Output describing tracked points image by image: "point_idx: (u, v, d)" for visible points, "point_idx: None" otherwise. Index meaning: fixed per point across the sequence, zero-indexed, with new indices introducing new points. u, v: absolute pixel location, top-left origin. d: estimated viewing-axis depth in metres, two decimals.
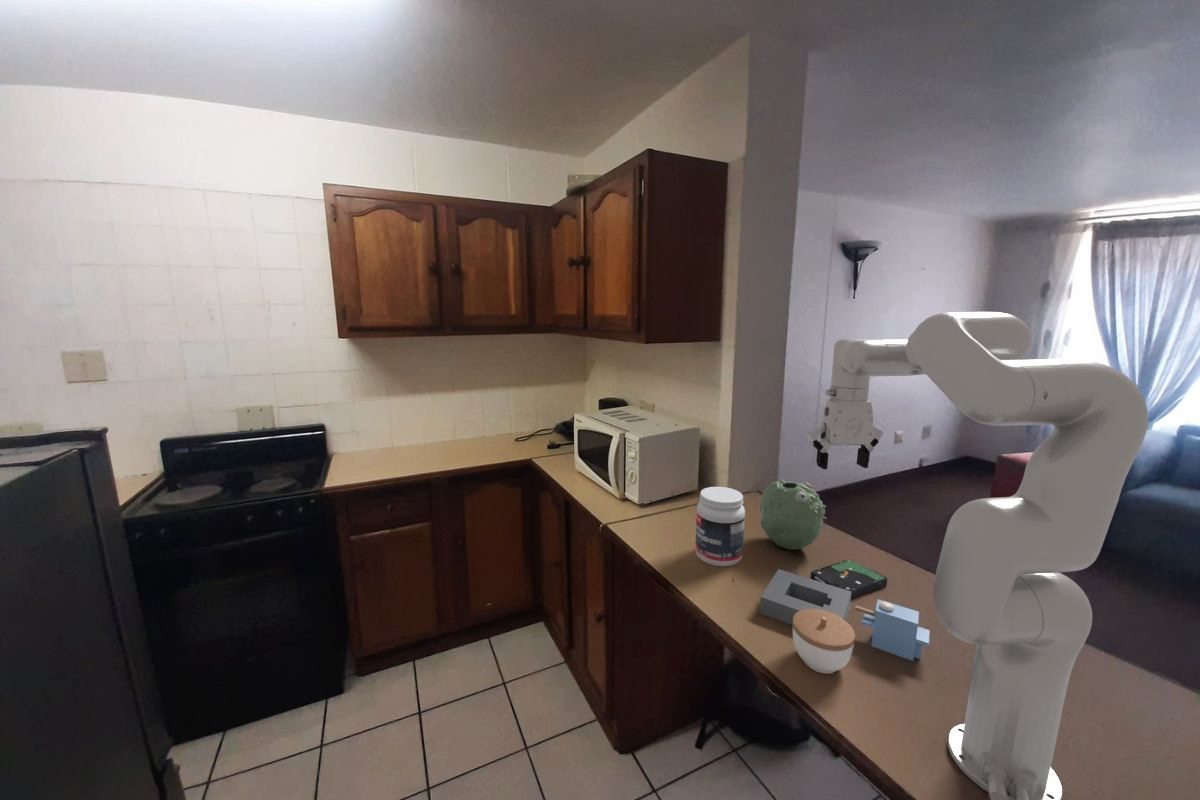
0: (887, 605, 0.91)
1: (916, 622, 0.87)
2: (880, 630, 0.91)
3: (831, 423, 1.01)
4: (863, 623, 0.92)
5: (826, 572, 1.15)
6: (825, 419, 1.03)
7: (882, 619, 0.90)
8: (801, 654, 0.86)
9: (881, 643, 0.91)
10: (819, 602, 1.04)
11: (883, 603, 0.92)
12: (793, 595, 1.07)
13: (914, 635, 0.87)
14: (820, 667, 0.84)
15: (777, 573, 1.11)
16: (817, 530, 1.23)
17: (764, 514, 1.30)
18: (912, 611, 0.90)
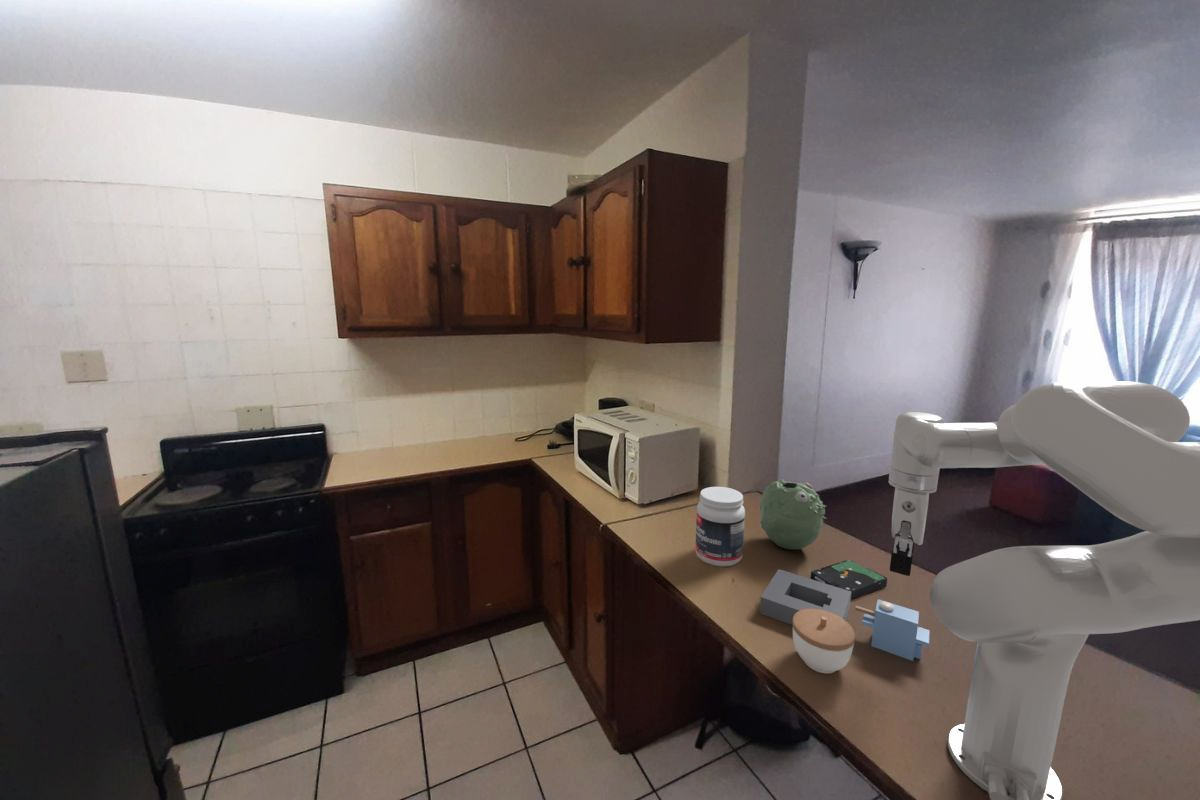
0: (887, 605, 0.91)
1: (916, 622, 0.87)
2: (880, 630, 0.91)
3: (921, 521, 0.82)
4: (863, 623, 0.92)
5: (826, 572, 1.15)
6: (907, 516, 0.83)
7: (882, 619, 0.90)
8: (801, 654, 0.86)
9: (881, 643, 0.91)
10: (819, 602, 1.04)
11: (883, 603, 0.92)
12: (793, 595, 1.07)
13: (914, 635, 0.87)
14: (820, 667, 0.84)
15: (777, 573, 1.11)
16: (817, 530, 1.23)
17: (764, 514, 1.30)
18: (912, 611, 0.90)
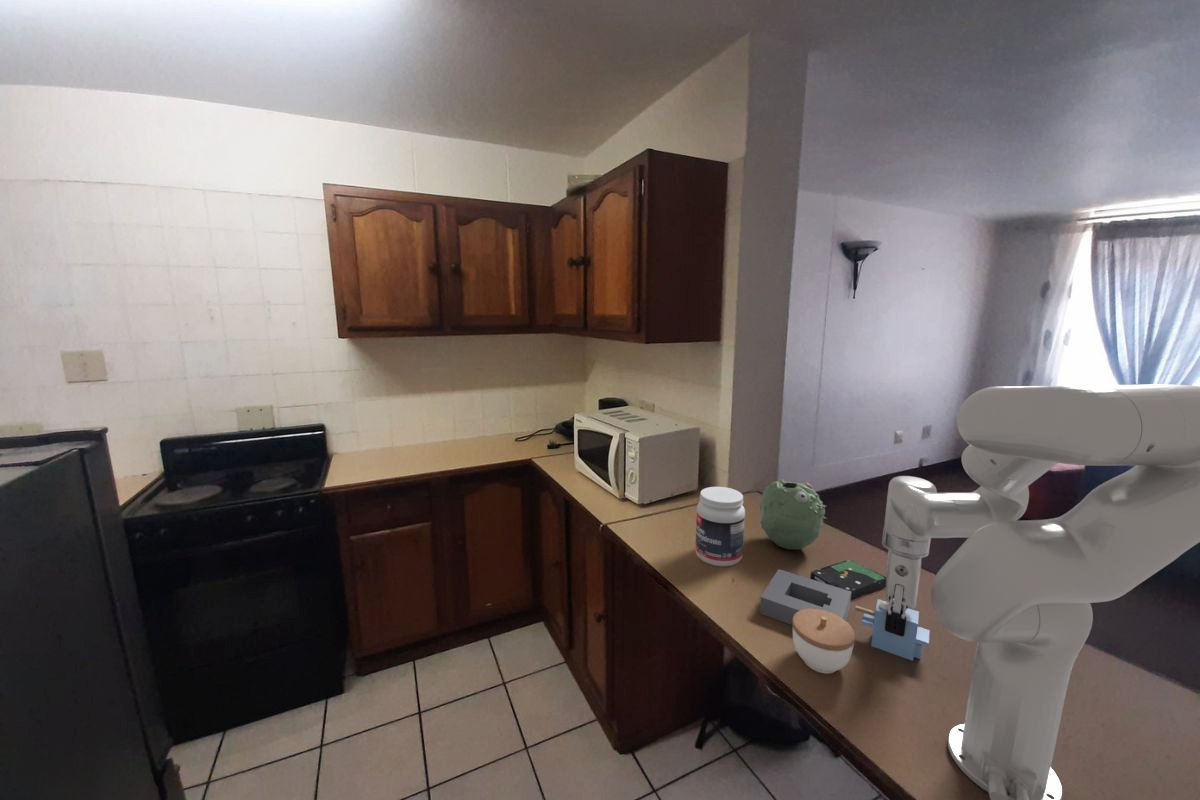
0: (887, 605, 0.91)
1: (916, 622, 0.87)
2: (880, 630, 0.91)
3: (914, 585, 0.84)
4: (863, 623, 0.92)
5: (826, 572, 1.15)
6: (900, 580, 0.85)
7: (882, 619, 0.90)
8: (801, 654, 0.86)
9: (881, 643, 0.91)
10: (819, 602, 1.04)
11: (883, 603, 0.92)
12: (793, 595, 1.07)
13: (914, 635, 0.87)
14: (820, 667, 0.84)
15: (777, 573, 1.11)
16: (817, 530, 1.23)
17: (764, 514, 1.30)
18: (912, 611, 0.90)
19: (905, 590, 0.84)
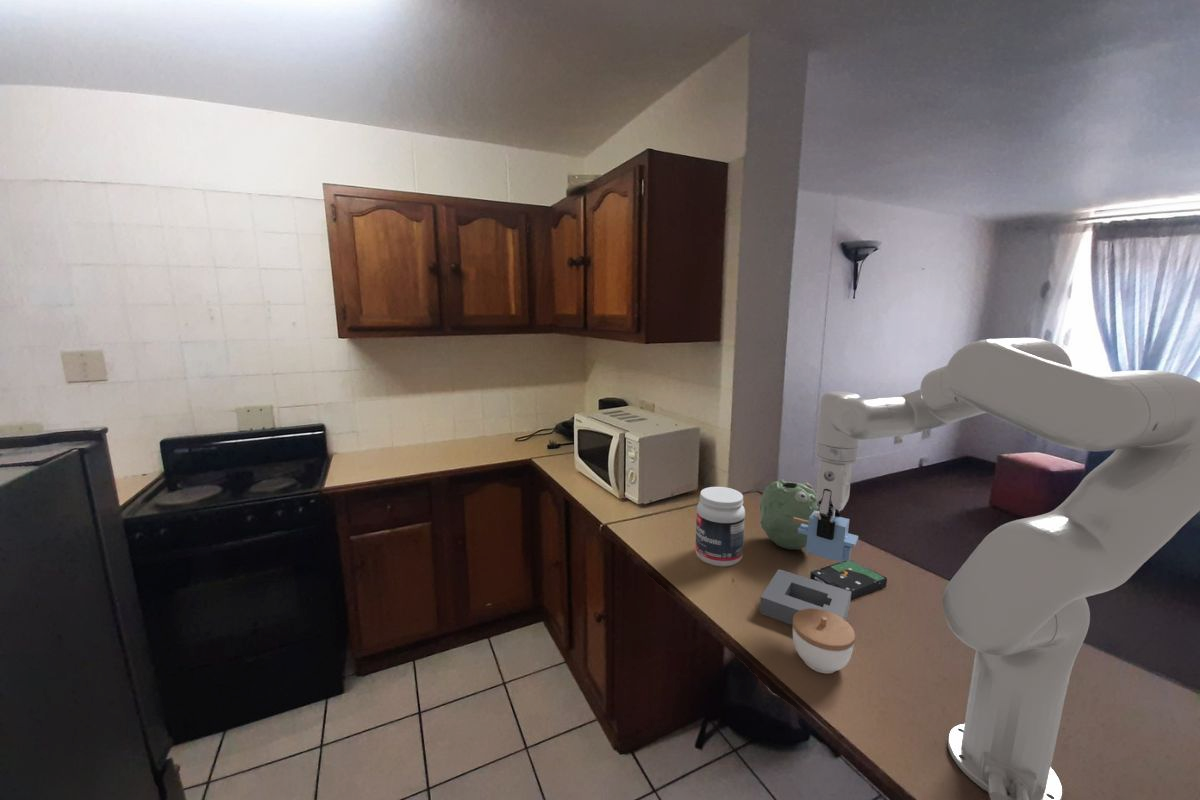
0: None
1: (844, 526, 0.94)
2: (813, 536, 0.98)
3: (840, 489, 0.90)
4: (798, 531, 0.99)
5: (826, 572, 1.15)
6: (828, 484, 0.91)
7: (814, 525, 0.97)
8: (801, 654, 0.86)
9: (814, 548, 0.98)
10: (819, 602, 1.04)
11: (817, 512, 0.99)
12: (793, 595, 1.07)
13: (842, 538, 0.94)
14: (820, 667, 0.84)
15: (777, 573, 1.11)
16: None
17: (764, 514, 1.30)
18: (843, 518, 0.97)
19: (832, 494, 0.91)
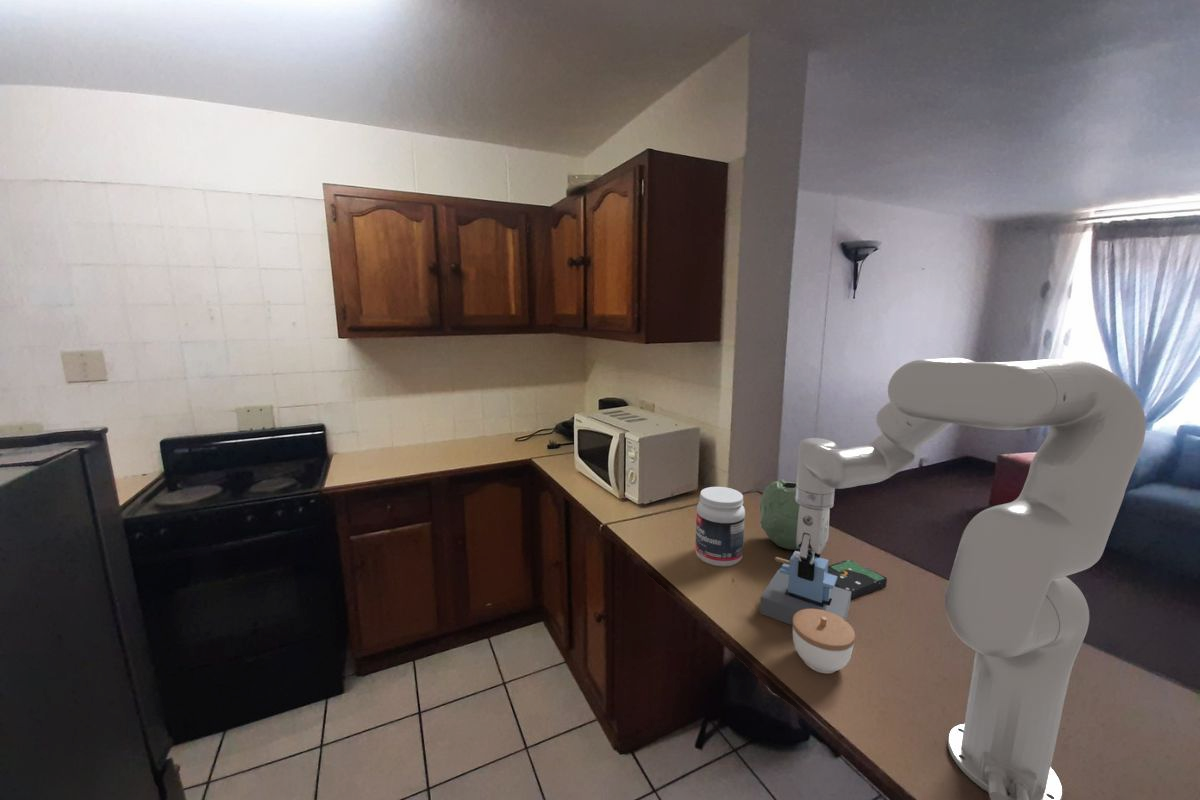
0: None
1: (823, 567, 0.98)
2: (794, 576, 1.01)
3: (818, 533, 0.94)
4: (780, 571, 1.03)
5: None
6: (807, 529, 0.95)
7: (795, 566, 1.01)
8: (801, 654, 0.86)
9: (795, 588, 1.02)
10: (819, 602, 1.04)
11: (798, 553, 1.02)
12: (793, 595, 1.07)
13: (821, 579, 0.98)
14: (820, 667, 0.84)
15: (777, 573, 1.11)
16: None
17: (764, 514, 1.30)
18: (822, 559, 1.01)
19: (811, 538, 0.95)
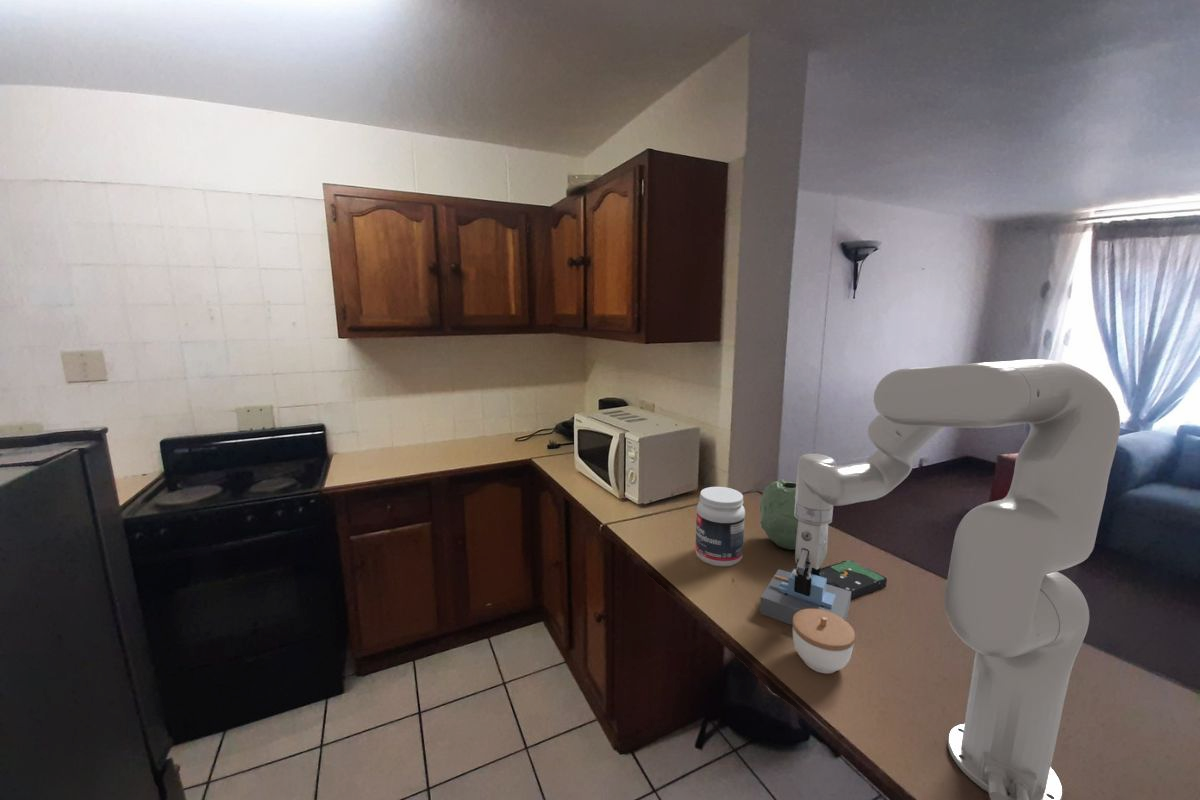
0: None
1: (821, 587, 0.98)
2: (793, 595, 1.02)
3: (817, 549, 0.95)
4: (779, 590, 1.04)
5: (826, 572, 1.15)
6: (805, 544, 0.96)
7: None
8: (801, 654, 0.86)
9: None
10: None
11: None
12: None
13: (820, 598, 0.99)
14: (820, 667, 0.84)
15: (777, 573, 1.11)
16: None
17: (764, 514, 1.30)
18: (821, 578, 1.02)
19: (809, 553, 0.96)
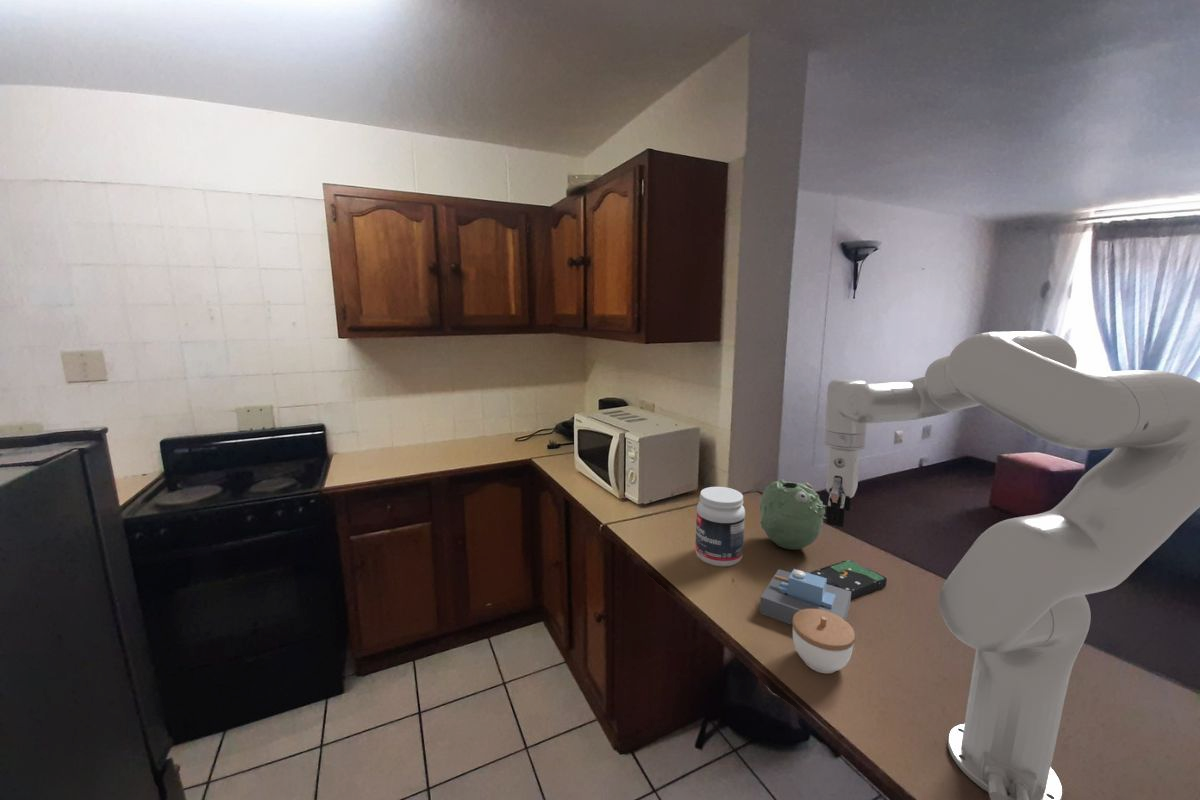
0: (799, 573, 1.03)
1: (821, 587, 0.98)
2: (793, 595, 1.02)
3: (851, 475, 0.90)
4: (779, 590, 1.04)
5: (826, 572, 1.15)
6: (838, 471, 0.91)
7: (794, 585, 1.02)
8: (801, 654, 0.86)
9: None
10: None
11: (796, 571, 1.03)
12: None
13: (820, 598, 0.99)
14: (820, 667, 0.84)
15: (777, 573, 1.11)
16: (817, 530, 1.23)
17: (764, 514, 1.30)
18: (821, 578, 1.02)
19: (843, 480, 0.91)
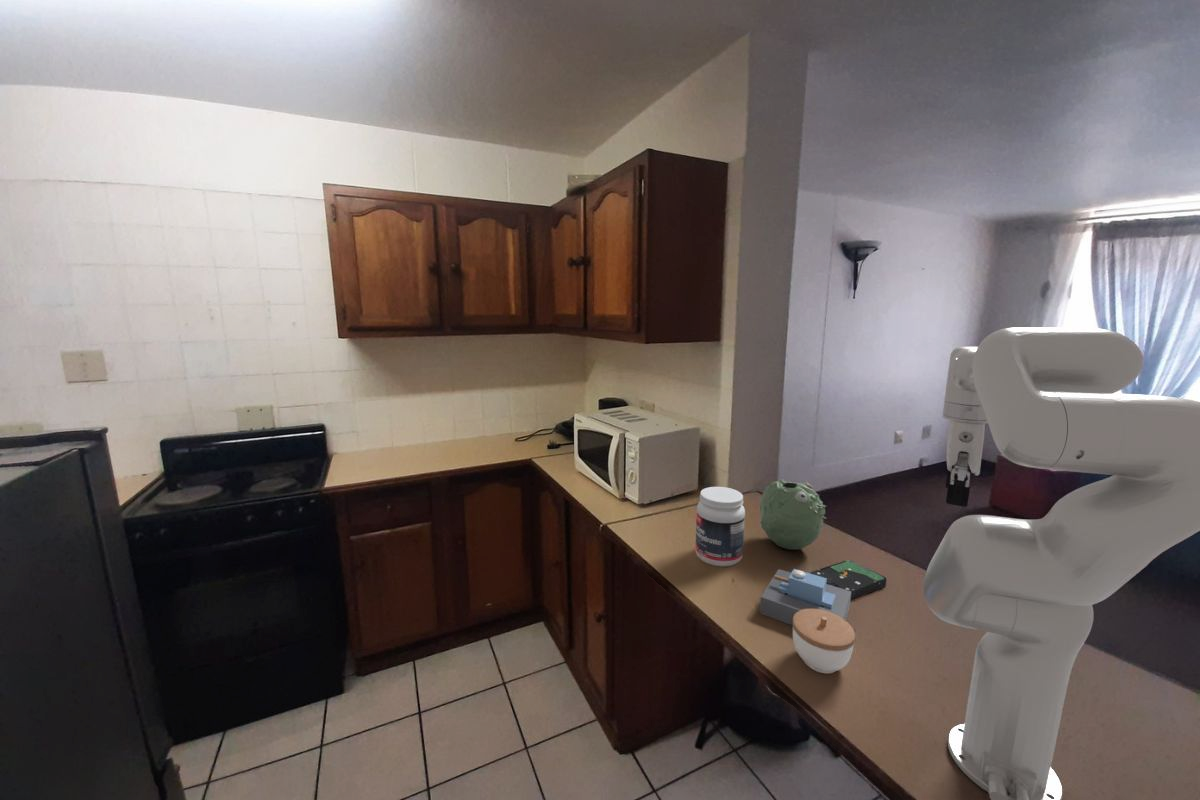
0: (799, 573, 1.03)
1: (821, 587, 0.98)
2: (793, 595, 1.02)
3: (979, 450, 0.83)
4: (779, 590, 1.04)
5: (826, 572, 1.15)
6: (964, 446, 0.84)
7: (794, 585, 1.02)
8: (801, 654, 0.86)
9: None
10: None
11: (796, 571, 1.03)
12: None
13: (820, 598, 0.99)
14: (820, 667, 0.84)
15: (777, 573, 1.11)
16: (817, 530, 1.23)
17: (764, 514, 1.30)
18: (821, 578, 1.02)
19: (969, 456, 0.84)
